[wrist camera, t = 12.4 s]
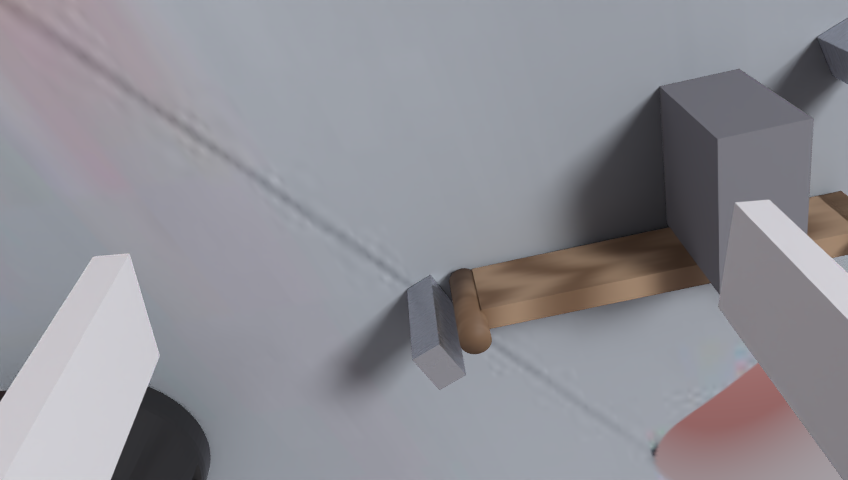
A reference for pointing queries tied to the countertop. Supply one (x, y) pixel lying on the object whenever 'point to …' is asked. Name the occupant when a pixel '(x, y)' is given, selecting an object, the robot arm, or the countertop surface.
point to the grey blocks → (435, 310)
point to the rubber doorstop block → (730, 159)
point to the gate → (600, 275)
